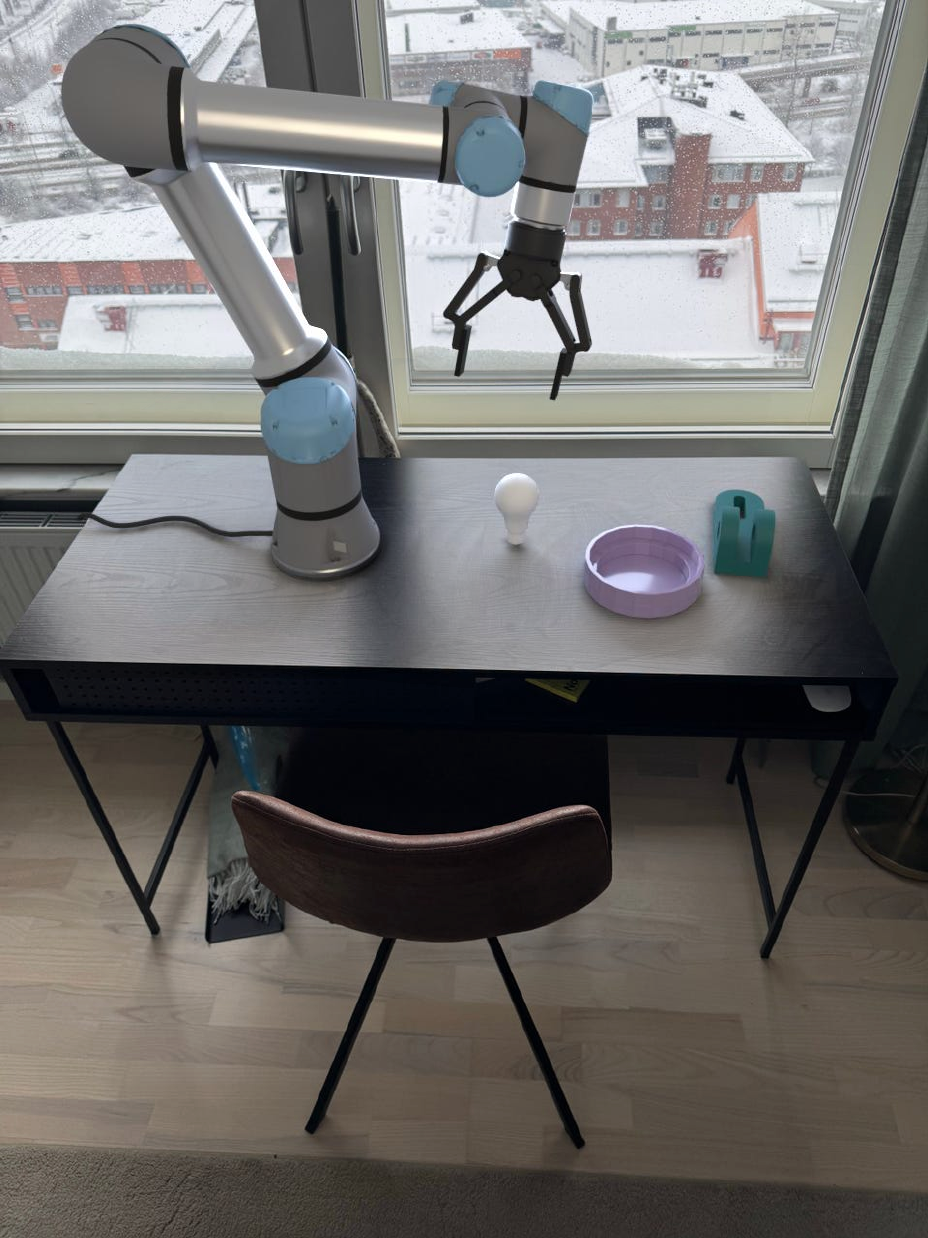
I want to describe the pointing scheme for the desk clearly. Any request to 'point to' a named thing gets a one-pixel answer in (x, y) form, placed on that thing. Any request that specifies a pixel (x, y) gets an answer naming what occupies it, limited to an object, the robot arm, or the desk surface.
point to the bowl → (643, 571)
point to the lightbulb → (516, 504)
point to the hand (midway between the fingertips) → (505, 385)
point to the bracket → (742, 534)
